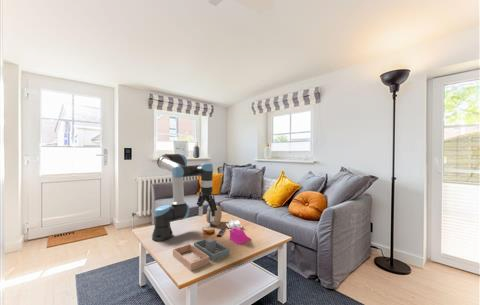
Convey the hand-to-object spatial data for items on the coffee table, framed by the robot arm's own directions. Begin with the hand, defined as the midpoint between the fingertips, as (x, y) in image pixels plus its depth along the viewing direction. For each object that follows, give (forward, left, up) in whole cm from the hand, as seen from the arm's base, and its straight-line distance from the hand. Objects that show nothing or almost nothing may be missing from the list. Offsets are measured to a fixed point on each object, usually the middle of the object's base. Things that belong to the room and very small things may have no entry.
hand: (206, 218), depth 141 cm
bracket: (+2, +29, -22) cm, 37 cm away
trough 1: (+2, -13, -22) cm, 26 cm away
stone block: (+2, +2, -22) cm, 22 cm away
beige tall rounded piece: (-39, +33, -22) cm, 56 cm away
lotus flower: (-19, +40, -22) cm, 50 cm away
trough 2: (+2, +2, -22) cm, 22 cm away
